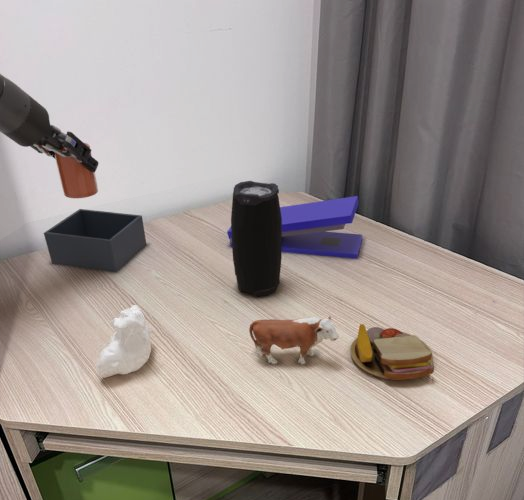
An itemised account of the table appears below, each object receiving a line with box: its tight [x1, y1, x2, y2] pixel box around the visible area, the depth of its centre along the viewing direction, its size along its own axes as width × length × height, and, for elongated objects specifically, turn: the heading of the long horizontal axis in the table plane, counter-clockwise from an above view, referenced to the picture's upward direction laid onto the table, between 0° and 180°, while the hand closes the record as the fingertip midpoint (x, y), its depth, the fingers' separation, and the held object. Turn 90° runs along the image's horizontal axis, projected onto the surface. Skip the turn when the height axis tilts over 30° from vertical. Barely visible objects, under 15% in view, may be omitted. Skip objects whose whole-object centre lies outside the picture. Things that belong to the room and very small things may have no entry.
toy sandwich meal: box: [349, 323, 435, 381], centre depth 82 cm, size 12×14×5 cm
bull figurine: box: [248, 315, 340, 365], centre depth 82 cm, size 4×13×8 cm, turn 81°
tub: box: [43, 208, 147, 273], centre depth 113 cm, size 15×13×7 cm
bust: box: [96, 304, 153, 378], centre depth 81 cm, size 12×8×11 cm
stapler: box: [226, 195, 363, 260], centre depth 115 cm, size 12×28×10 cm, turn 76°
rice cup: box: [54, 142, 99, 199], centre depth 101 cm, size 6×6×8 cm
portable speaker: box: [230, 180, 283, 298], centre depth 97 cm, size 9×9×20 cm
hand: (82, 164), depth 101 cm, fingers closed on rice cup, 6 cm apart
